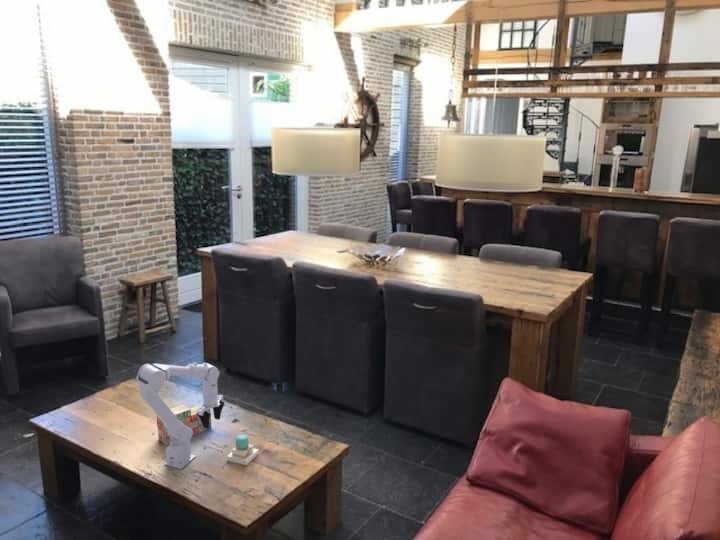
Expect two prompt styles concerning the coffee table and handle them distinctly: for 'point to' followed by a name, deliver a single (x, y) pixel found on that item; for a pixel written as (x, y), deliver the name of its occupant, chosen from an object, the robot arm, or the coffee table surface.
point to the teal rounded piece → (242, 442)
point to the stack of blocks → (183, 421)
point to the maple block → (242, 452)
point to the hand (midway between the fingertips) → (211, 423)
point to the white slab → (242, 460)
